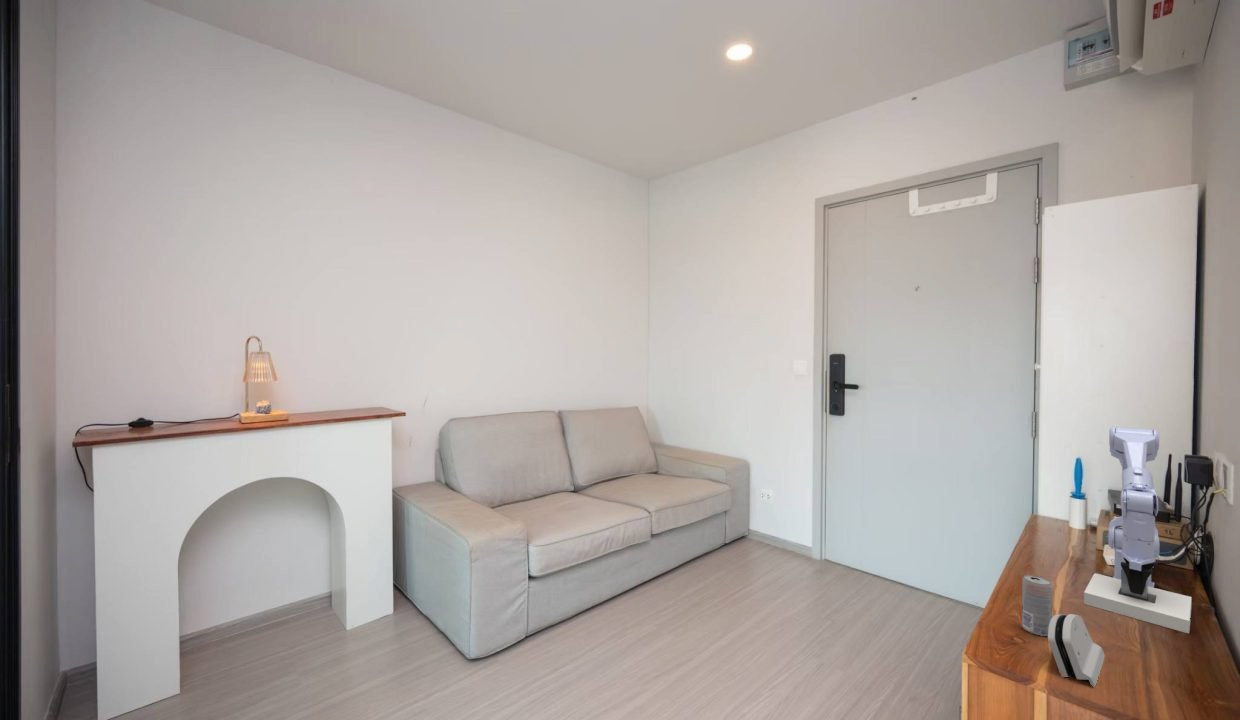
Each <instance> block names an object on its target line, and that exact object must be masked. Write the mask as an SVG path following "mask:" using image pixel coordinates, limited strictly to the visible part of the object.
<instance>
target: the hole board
mask: <svg viewBox="0 0 1240 720" xmlns="http://www.w3.org/2000/svg"><path fill="white" fill-rule="evenodd" d="M1083 604H1084V605H1087V606H1090V607H1092V608H1093V607H1094V608H1098V609H1100V610H1105V611H1109V612H1111V613H1115V614H1117V615H1118V614H1119V615H1122V616H1126V617H1129V618H1133V619H1135V620H1140V621H1143V622H1146V623H1149V624H1154V625H1157V626H1161V627H1164V628H1168V629H1171V630H1175V631H1178V632H1181V633H1184V634H1190V630H1191V619H1190V618H1192V616H1191V615H1192V596H1189V595H1184V594H1181V593H1176V592H1173V591H1168V590H1164V589H1160V588H1156V587H1154V588H1153V587H1149V586H1148V602H1147V601H1143V600H1140V599H1136V598H1132V597H1128V596H1124V595H1121V580H1120V579H1116V578H1113V576H1112V577H1111V576H1107V575H1104V574H1100V573H1096V572H1095V573H1094V574H1093V575H1092V577H1091V578H1090V580H1089V583H1088V584H1087V586H1086V588H1085V590H1084V592H1083Z"/></svg>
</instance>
